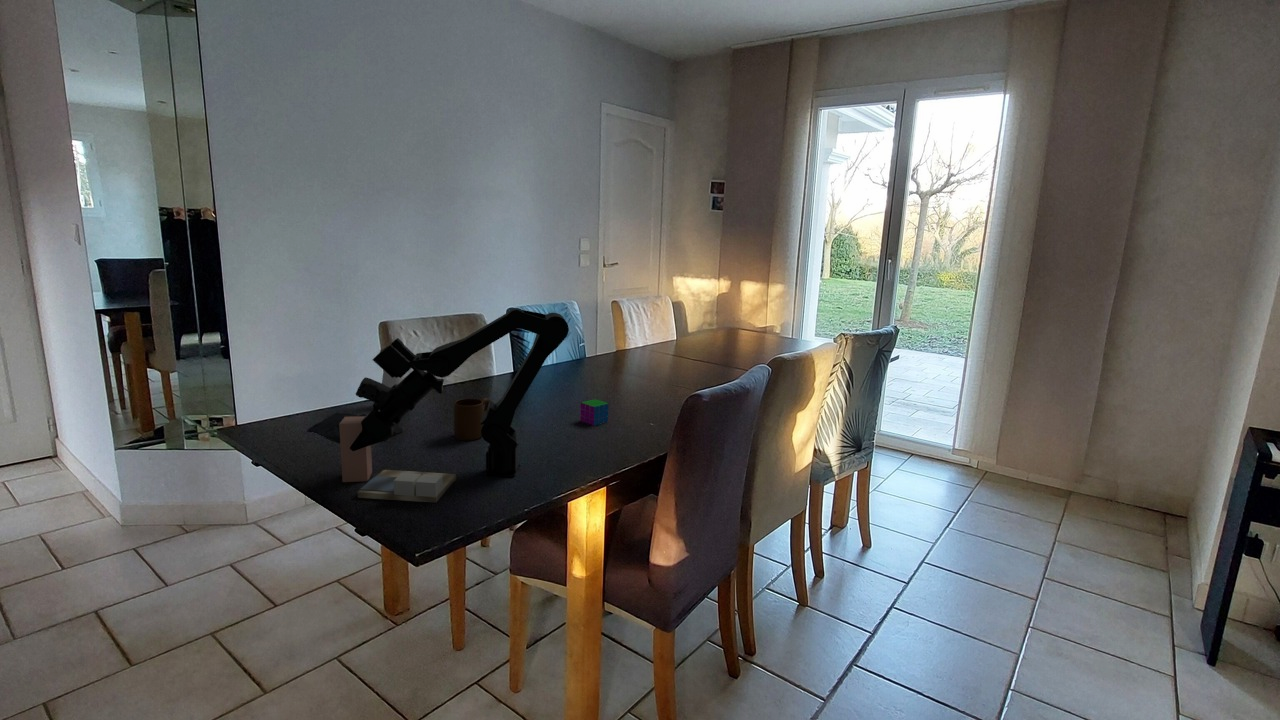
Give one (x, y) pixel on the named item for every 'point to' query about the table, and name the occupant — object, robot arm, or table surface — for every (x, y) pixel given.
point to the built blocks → (418, 484)
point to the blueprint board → (384, 487)
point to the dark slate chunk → (337, 426)
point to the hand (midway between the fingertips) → (356, 442)
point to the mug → (469, 418)
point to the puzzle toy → (594, 412)
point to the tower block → (354, 452)
